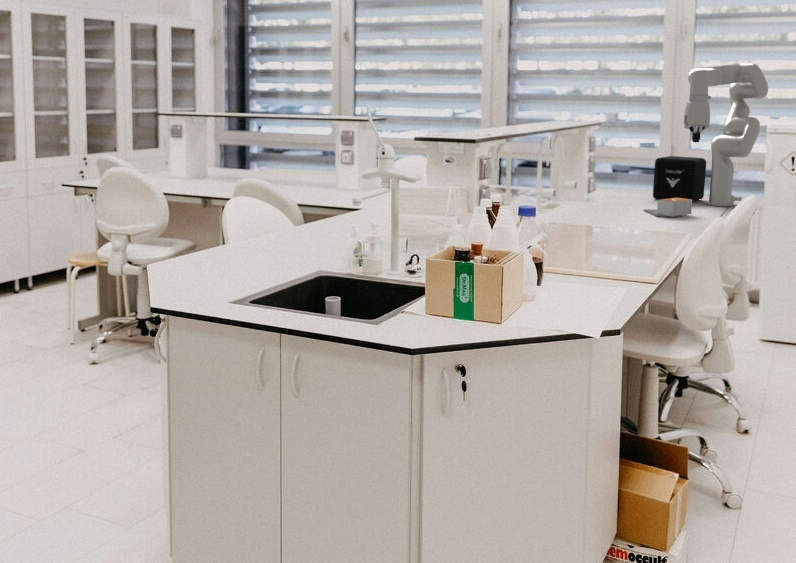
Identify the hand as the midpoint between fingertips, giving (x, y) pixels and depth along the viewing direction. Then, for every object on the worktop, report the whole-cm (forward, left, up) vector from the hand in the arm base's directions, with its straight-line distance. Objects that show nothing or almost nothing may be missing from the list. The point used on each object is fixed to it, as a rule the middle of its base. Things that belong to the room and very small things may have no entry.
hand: (695, 142), depth 396 cm
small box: (+7, +11, -26) cm, 29 cm away
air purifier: (-6, -35, -30) cm, 47 cm away
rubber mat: (+16, +10, -30) cm, 35 cm away
